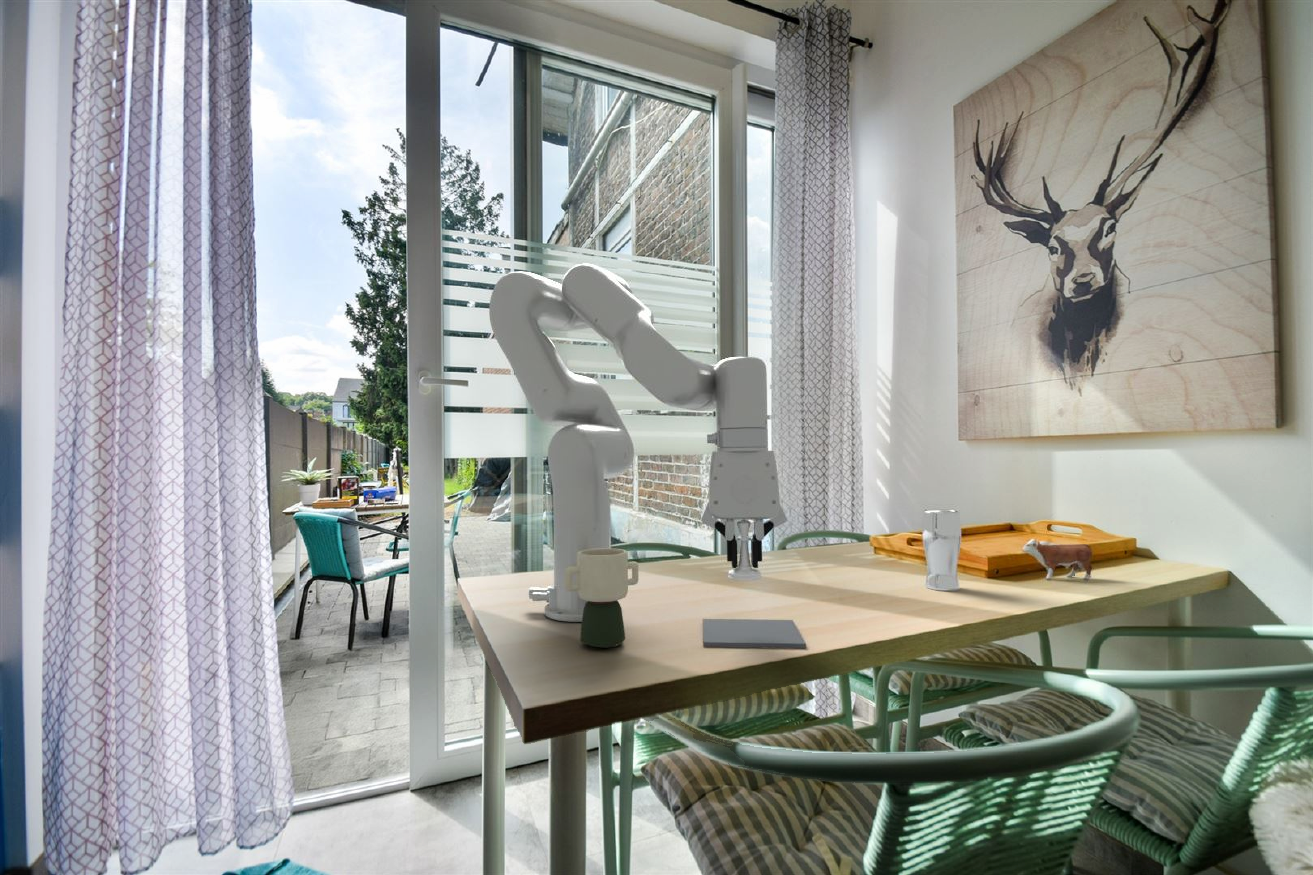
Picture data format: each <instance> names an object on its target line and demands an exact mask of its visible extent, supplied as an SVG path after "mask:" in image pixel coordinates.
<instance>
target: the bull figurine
mask: <svg viewBox="0 0 1313 875" xmlns="http://www.w3.org/2000/svg"><path fill="white" fill-rule="evenodd" d="M1021 552H1022V553H1026V554H1027V553H1028V554H1029V555H1030V556H1032V557H1034V558H1035V559H1036V560H1037V562H1038V563H1040V564H1041V565H1042V566H1043V567H1045V569H1046V570H1047V575H1045V580H1046V581H1050V580H1052V579H1053V577H1054V575H1053V573H1054V571H1055V569H1056V566H1063V567H1065V569H1066V570H1069V568H1070V567H1071V566H1072V569H1071V571H1070V572H1069V573H1068V574H1067V575H1066V578H1073V577H1075V576H1076V572H1077V571H1079V573H1081V572H1082V571H1084V569H1085V576H1084V578H1083V580H1085V581H1089V580H1090V579H1091V578H1092V575H1091V574H1092V569H1093V567H1092V564H1091V560H1092V557H1093V551H1092V547H1090V545H1088V544H1086V543H1081V544H1080V543H1079V544H1074V543H1073V544H1061V543H1060V544H1058V543H1053V542H1049V541H1045V540H1041V541H1037V540H1036V539H1035V538H1031V539H1030V540H1029V541H1028V542H1026V543H1025V545H1024V546H1023V548H1021Z"/></svg>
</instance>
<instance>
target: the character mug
mask: <svg viewBox="0 0 1313 875" xmlns="http://www.w3.org/2000/svg"><path fill="white" fill-rule="evenodd" d="M629 569H630V570H631V578H629ZM576 573H577V584H572V583H571V575H572V574H576ZM638 582H639V564H638V562H637V561H629V554H628V550H625V549H622V548H621V549H620V548H613V547H611V548H594V549H586V550H582V551H579V552H577V566H575V567H568V568H566V569H565V590H566V591H577V592H578V594H579V597H580V598H581V599H584V600H586V601H588V602H587V603H586V604H585V606H584V610H583V617H582V622H581V625H580V636H579V637H580V638H579V641H580V642H581V643H583V644H584V645H587V646H591V647H596V648H611V647H616V646H618V645H621V644H622V643H624V641H625V640H626V633H625V632H626V631H625V624H624V619H623V618H624V617H623V609H622V606H621V604H620V603H619V600H622V599H624V598H626V597H627V595H628V591H629V586H635V585H637V584H638Z"/></svg>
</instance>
